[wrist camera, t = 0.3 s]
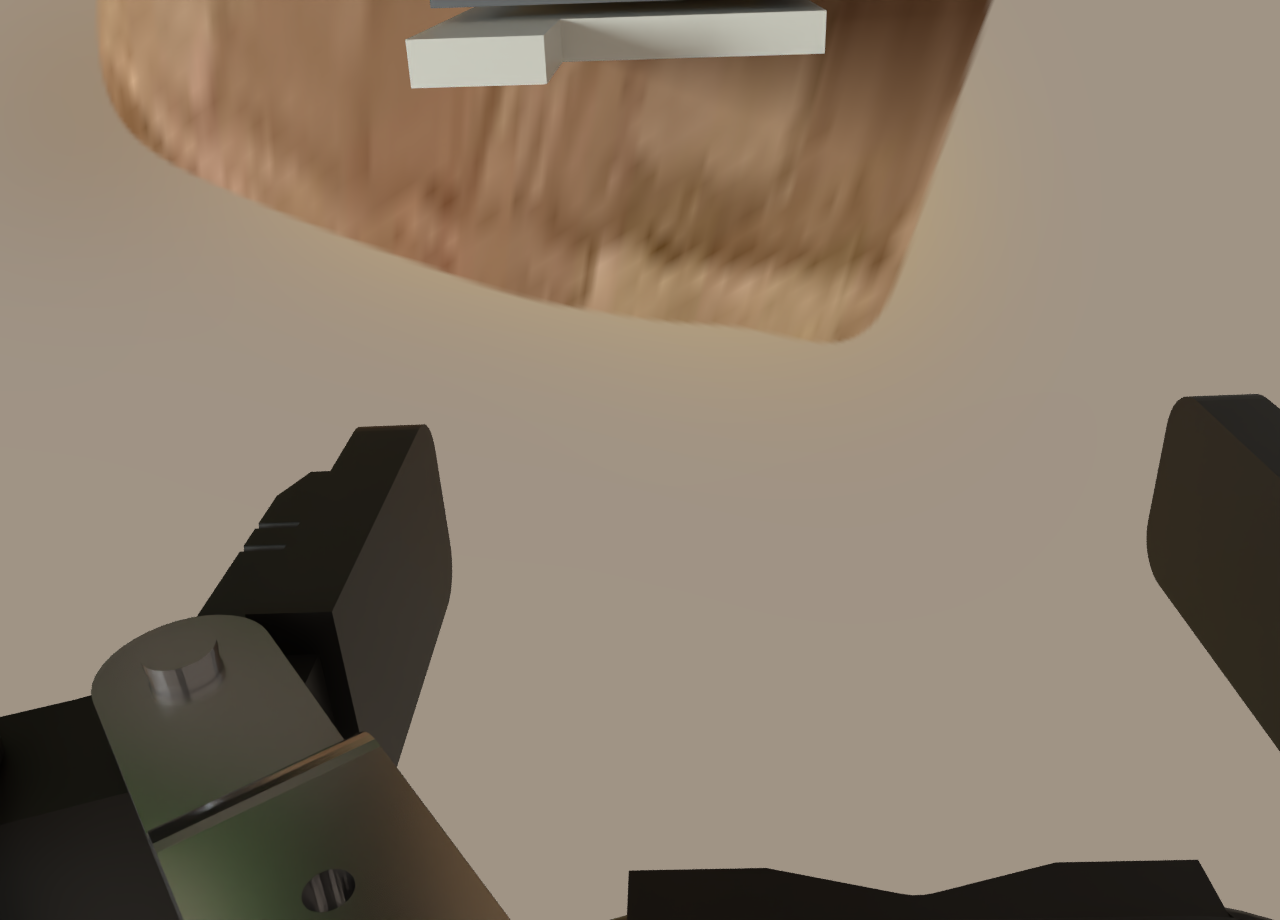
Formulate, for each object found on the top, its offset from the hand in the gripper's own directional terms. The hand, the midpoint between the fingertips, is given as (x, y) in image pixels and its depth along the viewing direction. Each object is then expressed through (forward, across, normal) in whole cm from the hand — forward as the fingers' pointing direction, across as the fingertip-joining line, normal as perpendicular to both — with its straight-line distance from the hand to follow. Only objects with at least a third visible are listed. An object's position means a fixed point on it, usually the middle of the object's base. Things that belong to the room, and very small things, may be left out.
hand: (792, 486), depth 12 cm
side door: (+28, +2, -3) cm, 28 cm away
